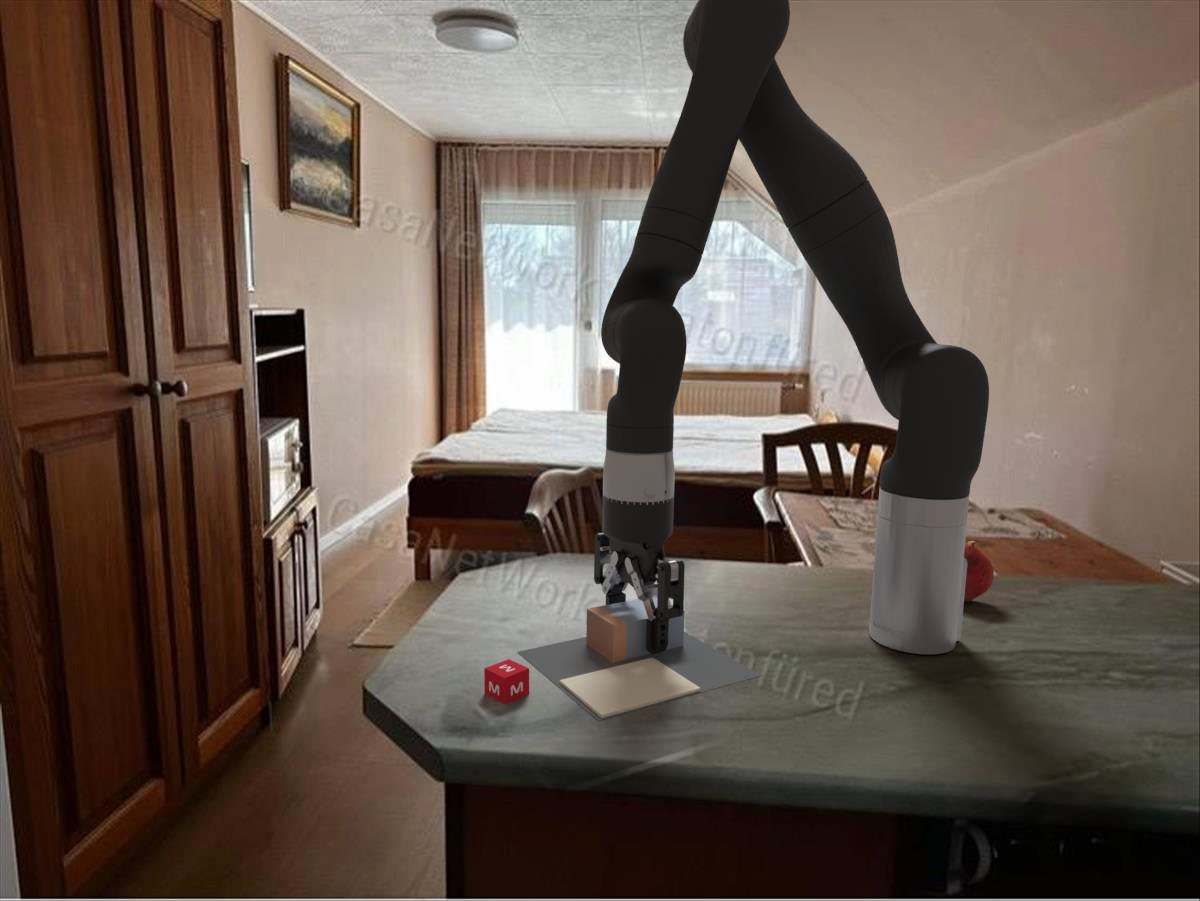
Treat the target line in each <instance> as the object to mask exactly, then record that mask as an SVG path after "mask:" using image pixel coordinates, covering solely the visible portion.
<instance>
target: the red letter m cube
mask: <svg viewBox="0 0 1200 901" xmlns="http://www.w3.org/2000/svg"><path fill="white" fill-rule="evenodd" d="M483 670H484V672H483V673H484V676H483V677H484V679H483V680H484V681H483V682H484V694H485V695H487V696H489V697H490V698H493V699H494V700H496V701H497V702H500V703H502V704H504V705H506V704H508V703H511V702H512V701H515V700H517V699H520V698H522V697H525V696H528V695H529V694H530V668H529V667H527V666H525V665H523V664H521V663H518V662H516V661H514V660H512V659H510V658H508V659H505V660H503V661H500V662H498V663H495V664H492V665H489V666H487V667H484V669H483Z"/></svg>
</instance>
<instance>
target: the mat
mask: <svg viewBox="0 0 1200 901" xmlns="http://www.w3.org/2000/svg"><path fill="white" fill-rule="evenodd" d="M516 653H517V654H518V655H520V657H522V658H523V659H524V660H525V661H526V662H528V663H529V664H530V665H531V666H533V667H534V668H535V669H536V670H537V671H538V672H540V673H541V674H542V675H543V676H544V677H546V678H547V679H548V680H549V681H550V682H552V684H554V685H555V686H556V687H557V688H558V689H559V690H560V691H562V692H563V693H564V694H565V695H567V696H568V697H569V698H570V699H571V700H573V701H574V703H576V704H577V705H578V706H579V707H581V708H582V709H583V710H585V712H587V713H588V714H589V715H590V716H591V717H592V718H594V719H595V720H596V721H597V722H601V721H606V720H610V719H613V718H616V717H620V716H622V715H623V716H624V715H627V714H630V713H634V712H637V711H641V710H645V709H647V708H652V707H656V706H660V705H662V704H665V703H669V702H672V701H677V700H680V699H684V698H688V697H691V696H695V695H699V694H701V693H706V692H709V691H713V690H717V689H720V688H723V687H727V686H731V685H733V684H738V683H741V682H745V681H748V680H753V679H756V678H758V677H762V676H763V675H762V674H760V673H758V672H756V671H755V670H753V669H751V668H749V667H747V666H745V665H744V664H742V663H740V662H739V661H737V660H735V659H733V658H732V657H730V656H728V655H727V654H724V653H723V652H721V651H719V650H718V649H716V648H714V647H712V646H710V645H709V644H707V643H705V642H703V641H701V640H699V639H698V638H696V637H695V636H693V635H692V634H689V633H687V632H685V631H684V641H683V646H681V647H677V648H672V649H668V650H665V651H664V652H660V653H656V654H647V655H643V656H639V657H634V658H630V659H626V660H623V661H619V662H614V663H613V662H611V661H610V660H608V659H607V658H605V657H604V656H603V655H601V654H600V653H598V652H597V651H596V650H594V649H593V648H591V647H590V646H588V645H587V644H586V636H585V637H584V636H583V637H580V638H576V639H571V640H566V641H561V642H557V643H553V644H547V645H542V646H538V647H537V646H536V647H534V648H529V649H524V650H520V651H516Z"/></svg>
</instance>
